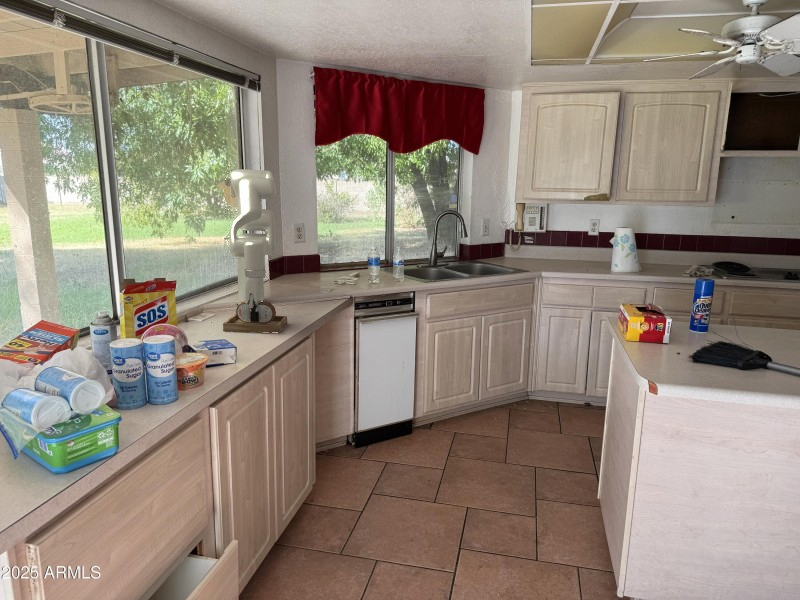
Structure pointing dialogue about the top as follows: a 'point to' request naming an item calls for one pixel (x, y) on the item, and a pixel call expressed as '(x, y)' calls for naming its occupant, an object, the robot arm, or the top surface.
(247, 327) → the walnut tray
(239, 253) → the robot arm
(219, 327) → the top surface
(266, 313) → the tin
